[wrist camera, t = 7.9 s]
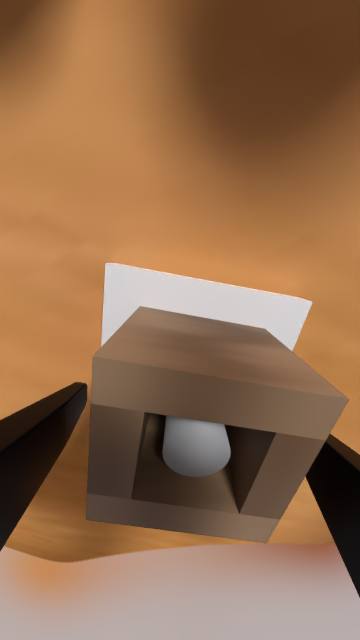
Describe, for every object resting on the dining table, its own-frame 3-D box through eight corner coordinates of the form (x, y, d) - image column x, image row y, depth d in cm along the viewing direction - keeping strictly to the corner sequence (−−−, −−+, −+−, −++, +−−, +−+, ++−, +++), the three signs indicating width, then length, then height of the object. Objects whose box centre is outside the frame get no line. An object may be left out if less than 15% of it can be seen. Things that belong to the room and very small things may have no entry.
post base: (297, 297, 10) (432, 340, 5) (245, 433, 13) (289, 556, 8) (114, 262, 10) (26, 266, 4) (104, 412, 13) (46, 525, 7)
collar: (265, 328, 9) (349, 399, 5) (231, 424, 11) (266, 543, 7) (139, 306, 9) (92, 356, 4) (127, 408, 11) (86, 520, 6)
